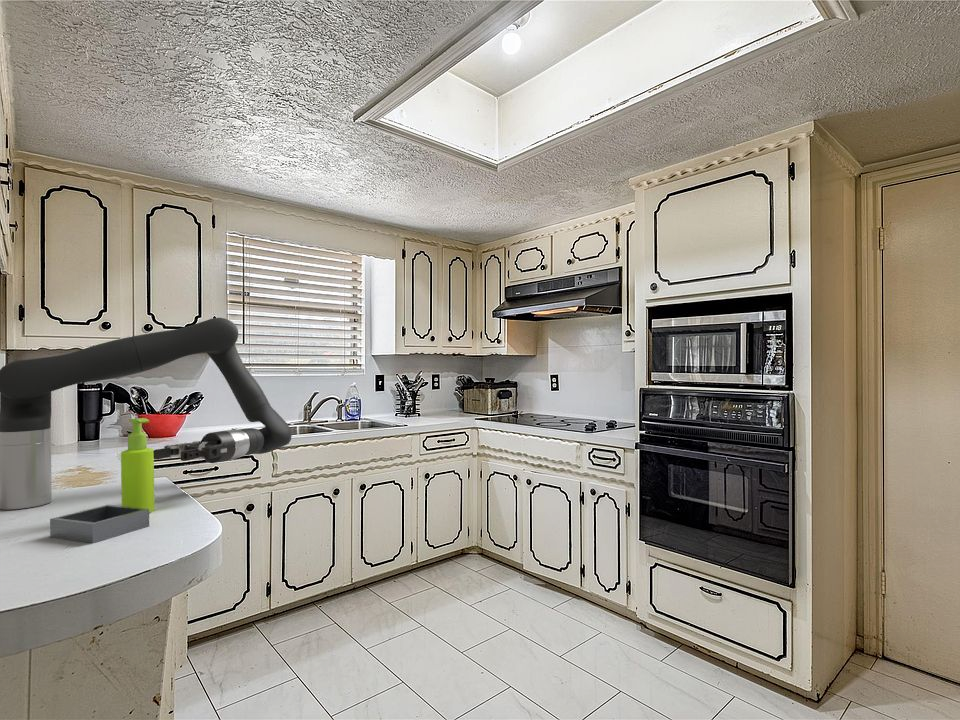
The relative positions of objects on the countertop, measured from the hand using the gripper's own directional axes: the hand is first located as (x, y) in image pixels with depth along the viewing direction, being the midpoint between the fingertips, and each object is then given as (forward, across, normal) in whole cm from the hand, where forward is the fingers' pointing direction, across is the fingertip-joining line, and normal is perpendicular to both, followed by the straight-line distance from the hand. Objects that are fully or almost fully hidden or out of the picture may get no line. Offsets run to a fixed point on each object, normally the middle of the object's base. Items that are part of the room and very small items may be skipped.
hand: (167, 455), depth 122 cm
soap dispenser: (+7, 0, +11) cm, 13 cm away
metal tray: (+19, +6, +11) cm, 23 cm away
